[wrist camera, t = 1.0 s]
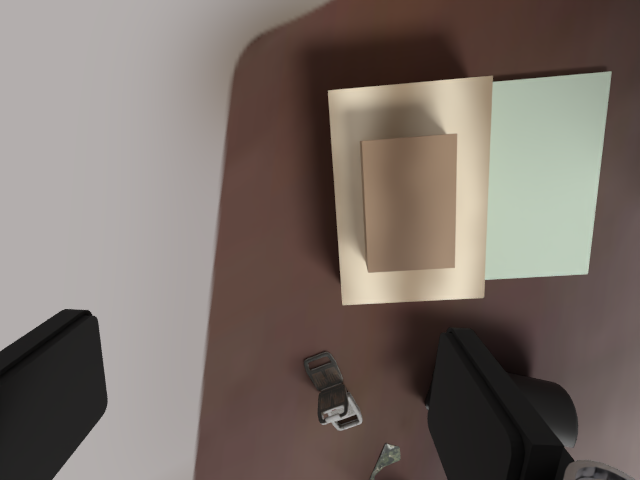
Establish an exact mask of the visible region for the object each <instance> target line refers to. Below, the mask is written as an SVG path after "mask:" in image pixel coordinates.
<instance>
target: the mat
mask: <svg viewBox="0 0 640 480" xmlns="http://www.w3.org/2000/svg"><path fill="white" fill-rule="evenodd" d="M611 73H612V71H610V72H599V73H588V74H576V75H565V76H554V77H543V78H532V79H520V80H509V81H498V82H493V88H492V113H491V137H490V162H489V187H488V211H487V236H486V261H485V280H489V279H507V278H525V277H543V276H562V275H580V274H588V268H589V260H590V251H591V243H592V234H593V226H594V217H595V209H596V200H597V192H598V183H599V175H600V166H601V158H602V149H603V141H604V132H605V124H606V115H607V107H608V98H609V90H610V81H611Z"/></svg>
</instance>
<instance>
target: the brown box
mask: <svg viewBox="0 0 640 480" xmlns="http://www.w3.org/2000/svg"><path fill="white" fill-rule="evenodd" d="M360 156H361V177H362V197H363V218H364V239H365V259H366V266H367V270H368V273H375V272H392V271H410V270H427V269H444V268H455V235H456V179H457V133H456V134H440V135H428V136H416V137H403V138H391V139H378V140H366V141H360Z"/></svg>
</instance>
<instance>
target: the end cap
mask: <svg viewBox="0 0 640 480" xmlns="http://www.w3.org/2000/svg"><path fill="white" fill-rule="evenodd" d="M434 371H435V370H434ZM506 373H507V372H506ZM507 374H508V375H509V377H510V378H511V379H512V380H513V382H514V383H515V384H516V386H517V387H518V388H519V389H520V391H521V392H522V393H523V394H524V396H525V397H526V398H527V399H528V401H529V402H530V403H531V404H532V406H533V407H534V408H535V410H536V411H537V412H538V413H539V415H540V416H541V417H542V418H543V420H544V421H545V422H546V423H547V425H548V426H549V427H550V428H551V430H552V431H553V432H554V434H555V435H556V436H557V437H558V439H559V440H560V441H561V442H562V444H563V445H564V446H566V447H571V448H574V446H575V443H576V440H577V435H578V418H577V413H576V409H575V406H574V404H573V401H572V399H571V398H570V396H569V394H568V393H567V392H566V390H565V389H563V388H562V387H561V386H560V385H558V384H556V383H554V382H550V381H545V380H541V379H536V378H531V377H526V376H522V375H517V374H512V373H507ZM432 376H433V377H434V372H433V375H432ZM432 384H433V379H432V382H431V385H430V388H429V391H428V394H427V397H426V400H425V406H426V408H427V410H429V403H430V397H431V390H432ZM427 419H428V418H427Z"/></svg>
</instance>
